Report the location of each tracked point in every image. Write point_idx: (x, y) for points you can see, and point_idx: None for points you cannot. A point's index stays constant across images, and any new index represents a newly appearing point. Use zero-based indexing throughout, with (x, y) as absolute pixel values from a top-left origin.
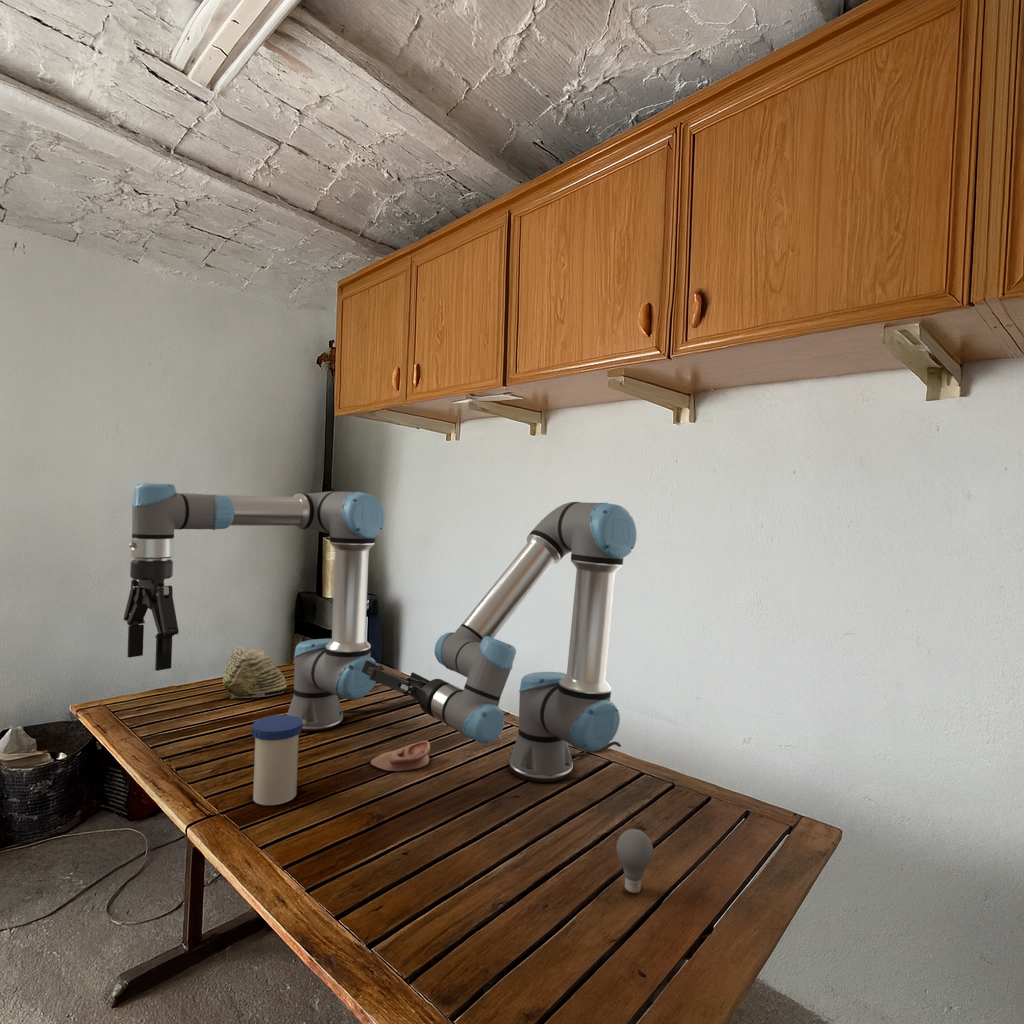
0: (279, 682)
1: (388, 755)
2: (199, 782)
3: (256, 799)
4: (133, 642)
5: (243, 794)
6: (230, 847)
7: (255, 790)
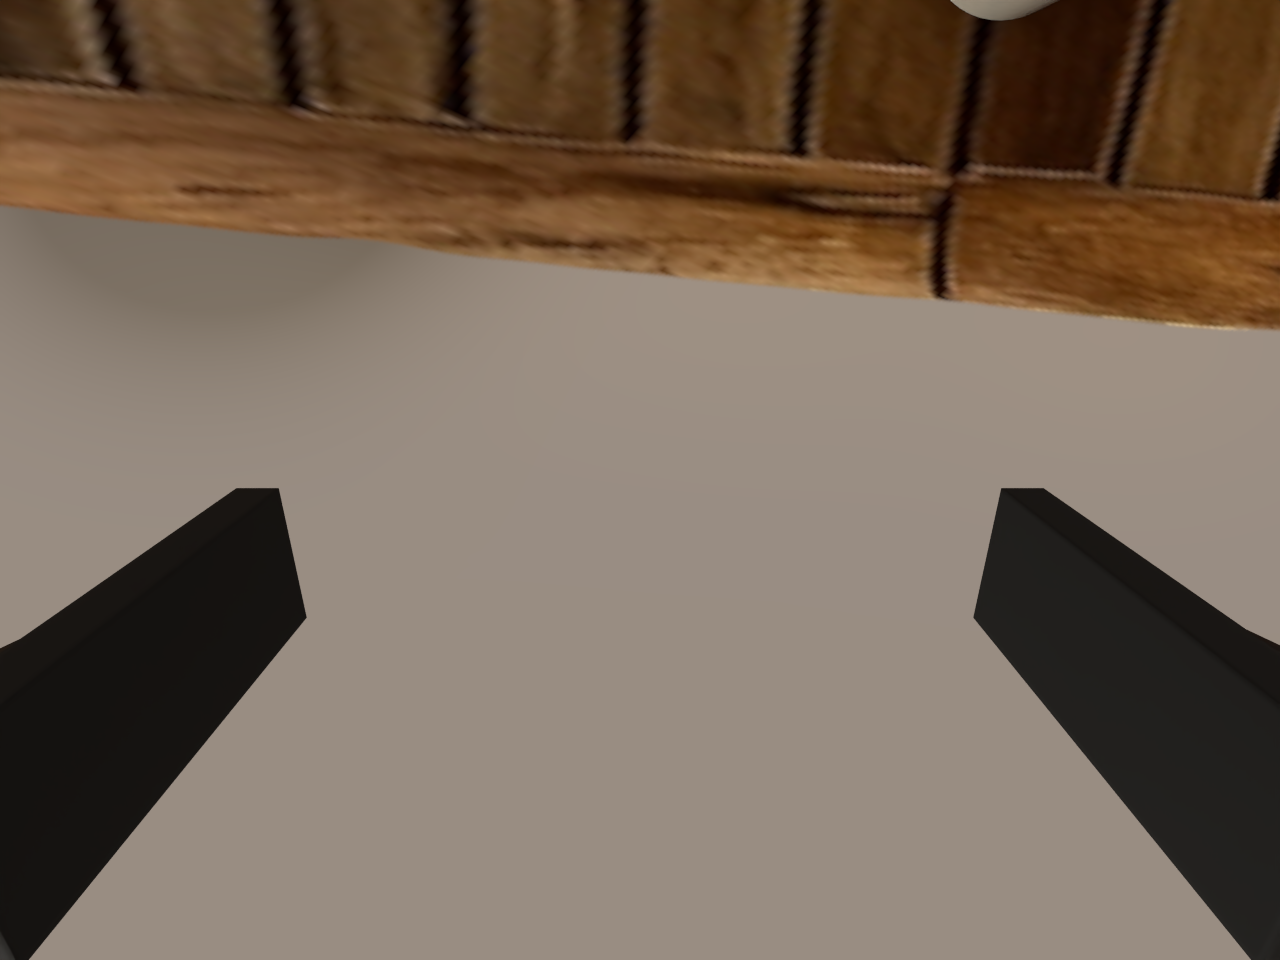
0: None
1: None
2: (651, 102)
3: (1012, 16)
4: (198, 688)
5: (893, 17)
6: (1174, 267)
7: (1019, 6)
